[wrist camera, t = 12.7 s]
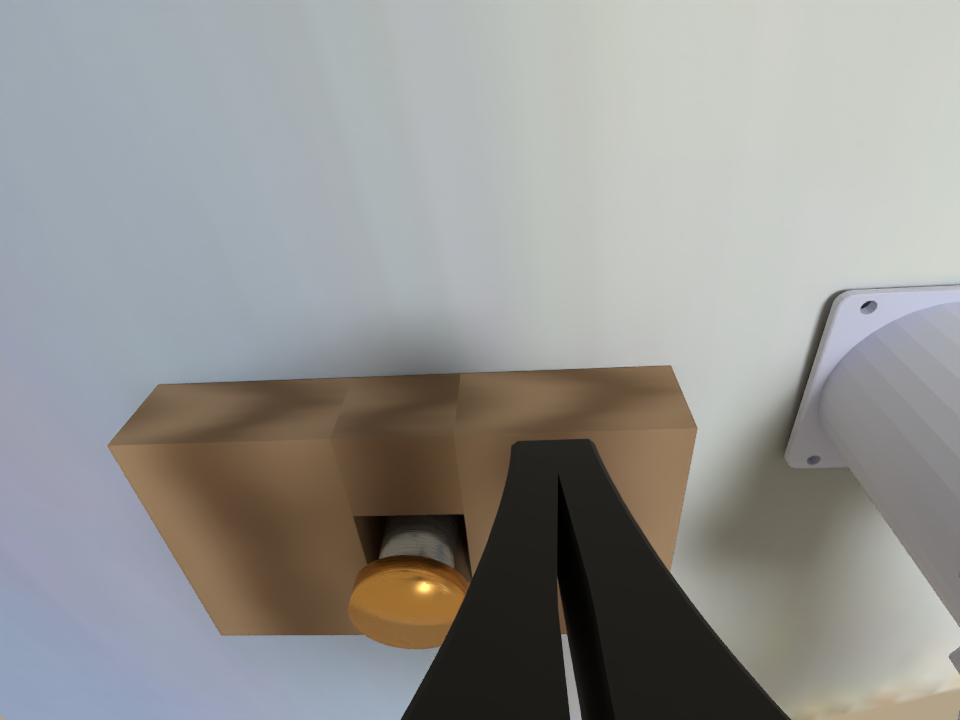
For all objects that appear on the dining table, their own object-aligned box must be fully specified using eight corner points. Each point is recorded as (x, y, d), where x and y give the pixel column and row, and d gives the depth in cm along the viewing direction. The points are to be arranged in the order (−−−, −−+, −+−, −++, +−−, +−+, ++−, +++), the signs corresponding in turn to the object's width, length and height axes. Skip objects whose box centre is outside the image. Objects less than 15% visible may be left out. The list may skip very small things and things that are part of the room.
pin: (484, 465, 24) (480, 590, 19) (466, 529, 27) (457, 655, 22) (383, 448, 24) (352, 571, 19) (374, 515, 26) (344, 639, 22)
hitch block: (671, 365, 21) (697, 428, 18) (641, 564, 28) (657, 633, 25) (158, 384, 22) (107, 445, 20) (249, 569, 29) (221, 635, 26)
